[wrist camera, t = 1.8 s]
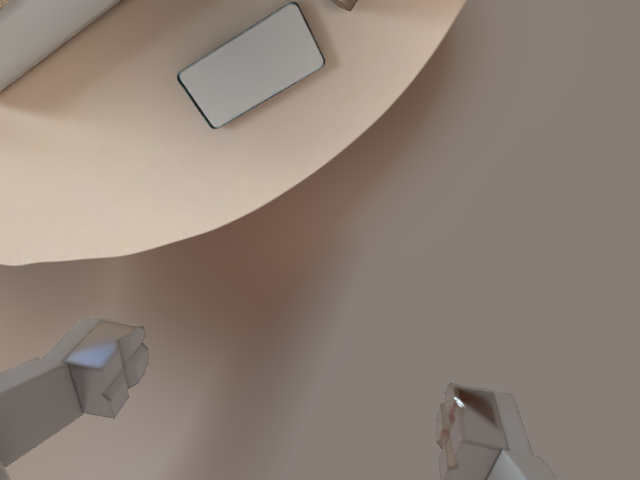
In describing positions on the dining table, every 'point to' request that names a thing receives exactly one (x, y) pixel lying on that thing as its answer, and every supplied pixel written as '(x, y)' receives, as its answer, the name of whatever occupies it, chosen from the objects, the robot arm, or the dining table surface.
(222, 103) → the smartphone
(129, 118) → the dining table surface
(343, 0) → the cutlery block
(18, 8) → the tube
